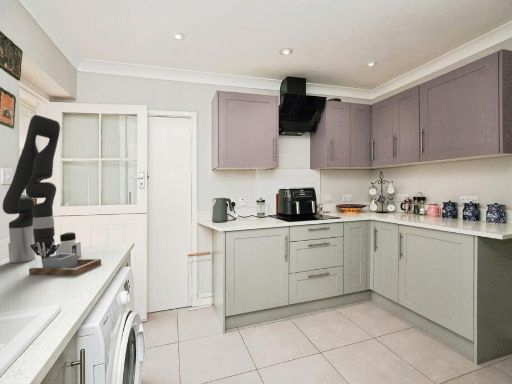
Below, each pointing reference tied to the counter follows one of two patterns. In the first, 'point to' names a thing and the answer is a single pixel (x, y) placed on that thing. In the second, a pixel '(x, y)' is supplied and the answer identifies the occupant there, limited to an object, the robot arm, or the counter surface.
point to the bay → (85, 263)
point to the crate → (60, 261)
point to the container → (69, 244)
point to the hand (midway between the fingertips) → (46, 264)
